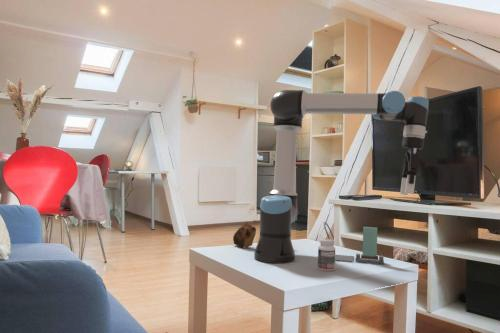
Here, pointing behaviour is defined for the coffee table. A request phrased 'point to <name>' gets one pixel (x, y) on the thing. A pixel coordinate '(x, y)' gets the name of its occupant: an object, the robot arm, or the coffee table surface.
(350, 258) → the coaster
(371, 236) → the switch paddle
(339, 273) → the coffee table surface
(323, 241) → the pill bottle
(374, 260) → the switch base
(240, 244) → the decorative rock
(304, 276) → the coffee table surface
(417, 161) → the robot arm
